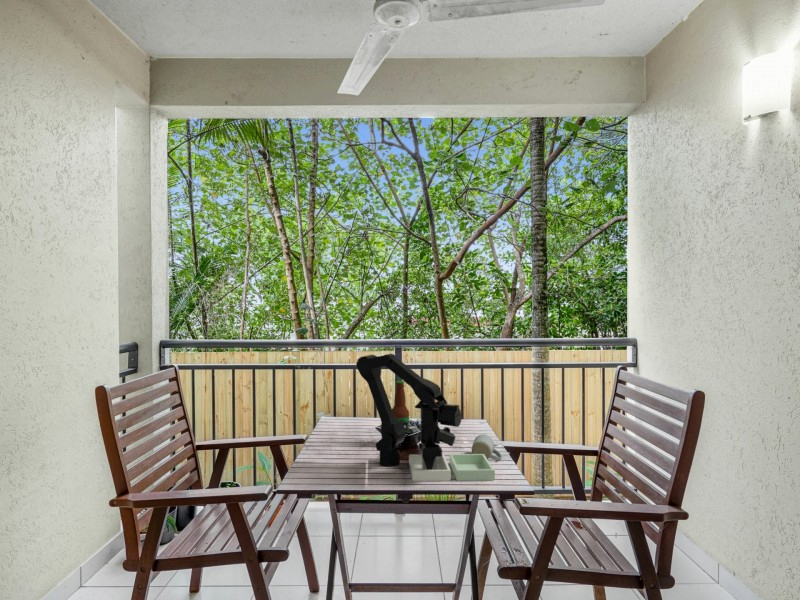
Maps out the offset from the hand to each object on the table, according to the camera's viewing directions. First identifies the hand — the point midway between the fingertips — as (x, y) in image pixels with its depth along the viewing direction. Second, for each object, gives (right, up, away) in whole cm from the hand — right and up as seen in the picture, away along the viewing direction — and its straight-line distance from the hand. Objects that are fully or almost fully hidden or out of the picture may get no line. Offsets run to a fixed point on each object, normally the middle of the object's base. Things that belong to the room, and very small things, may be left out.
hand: (428, 469), depth 170 cm
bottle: (-10, -1, +32) cm, 33 cm away
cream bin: (0, -2, 0) cm, 2 cm away
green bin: (+14, -2, +1) cm, 14 cm away
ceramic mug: (+22, -2, +17) cm, 28 cm away
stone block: (0, -1, 0) cm, 1 cm away
